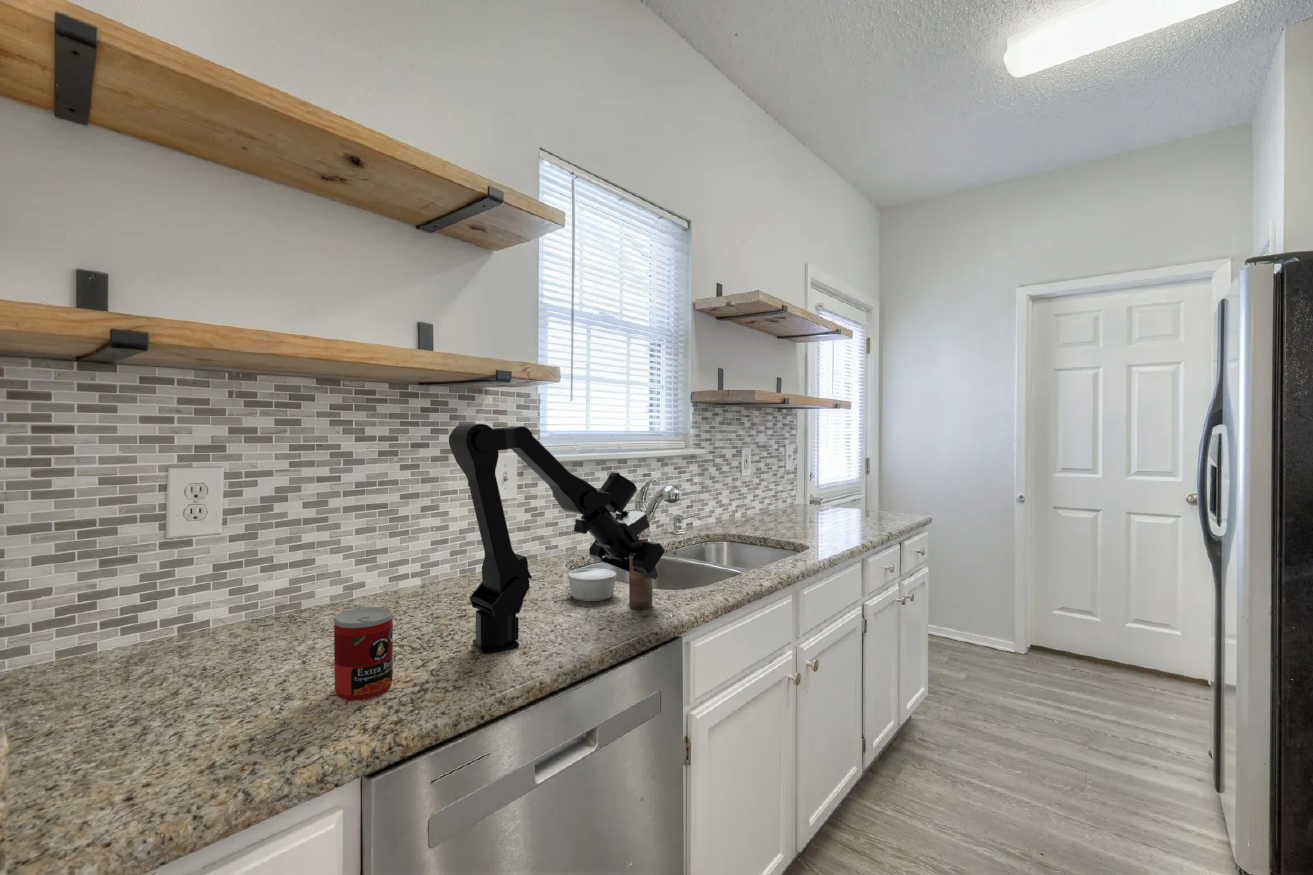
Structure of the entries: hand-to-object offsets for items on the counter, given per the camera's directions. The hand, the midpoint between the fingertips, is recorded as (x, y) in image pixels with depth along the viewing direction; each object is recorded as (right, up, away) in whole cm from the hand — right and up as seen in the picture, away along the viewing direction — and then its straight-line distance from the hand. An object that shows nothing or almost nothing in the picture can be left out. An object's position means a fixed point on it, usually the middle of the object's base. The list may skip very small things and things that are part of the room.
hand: (645, 574), depth 130 cm
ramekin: (-12, -7, +7) cm, 16 cm away
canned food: (-40, -7, -43) cm, 59 cm away
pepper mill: (-1, -7, -1) cm, 7 cm away
